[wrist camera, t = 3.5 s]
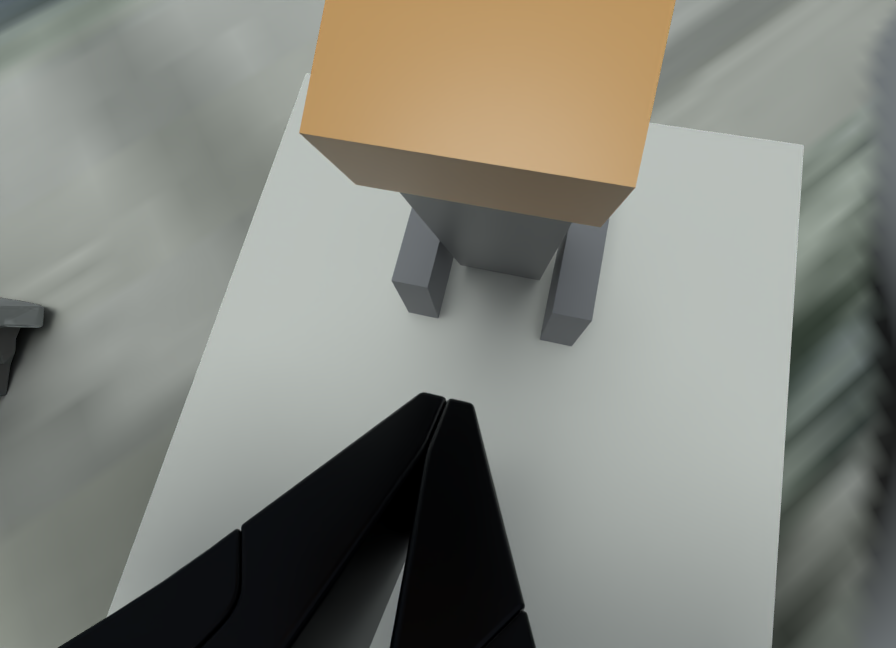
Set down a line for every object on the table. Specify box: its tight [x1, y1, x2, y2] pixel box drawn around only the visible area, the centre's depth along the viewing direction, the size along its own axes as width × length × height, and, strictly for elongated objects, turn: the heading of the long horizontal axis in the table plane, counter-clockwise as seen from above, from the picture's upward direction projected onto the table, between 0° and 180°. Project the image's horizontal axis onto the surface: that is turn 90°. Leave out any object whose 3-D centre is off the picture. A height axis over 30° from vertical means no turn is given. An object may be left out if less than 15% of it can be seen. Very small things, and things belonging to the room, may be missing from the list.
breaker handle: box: [299, 0, 676, 280], centre depth 10 cm, size 2×3×11 cm, turn 77°
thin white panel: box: [107, 73, 804, 648], centre depth 15 cm, size 22×18×6 cm
